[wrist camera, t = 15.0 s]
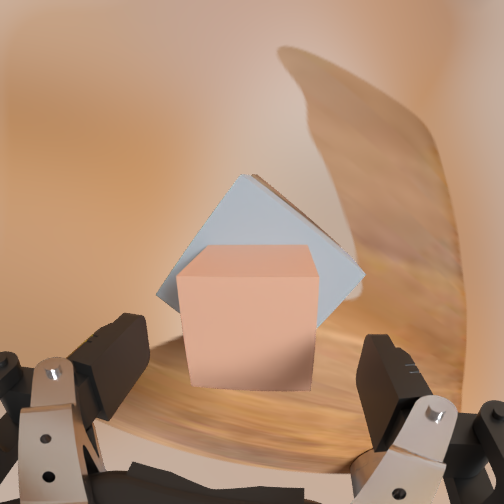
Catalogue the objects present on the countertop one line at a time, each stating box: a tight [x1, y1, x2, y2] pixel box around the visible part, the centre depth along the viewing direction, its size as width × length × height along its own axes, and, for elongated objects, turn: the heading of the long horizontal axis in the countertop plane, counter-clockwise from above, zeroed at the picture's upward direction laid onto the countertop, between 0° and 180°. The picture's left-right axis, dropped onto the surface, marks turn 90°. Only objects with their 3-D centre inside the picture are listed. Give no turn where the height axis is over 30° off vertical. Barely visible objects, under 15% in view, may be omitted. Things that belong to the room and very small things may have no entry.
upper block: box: [156, 174, 366, 329], centre depth 19 cm, size 9×9×4 cm
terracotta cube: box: [176, 245, 319, 391], centre depth 15 cm, size 6×6×6 cm
